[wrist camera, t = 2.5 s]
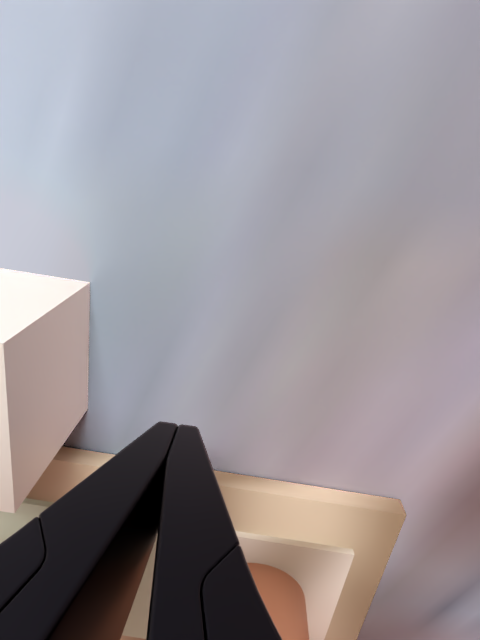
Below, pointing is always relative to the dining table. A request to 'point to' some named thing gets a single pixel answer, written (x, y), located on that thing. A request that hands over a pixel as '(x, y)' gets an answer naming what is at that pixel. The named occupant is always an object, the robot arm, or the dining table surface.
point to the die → (39, 374)
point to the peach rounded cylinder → (282, 600)
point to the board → (268, 539)
